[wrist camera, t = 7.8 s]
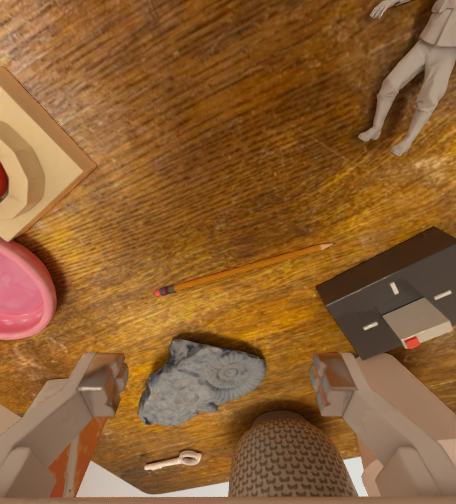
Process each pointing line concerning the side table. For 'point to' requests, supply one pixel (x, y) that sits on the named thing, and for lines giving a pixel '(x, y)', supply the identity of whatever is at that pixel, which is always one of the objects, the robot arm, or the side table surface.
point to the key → (177, 460)
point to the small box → (70, 448)
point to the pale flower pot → (405, 410)
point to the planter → (287, 460)
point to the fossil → (197, 382)
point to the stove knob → (417, 323)
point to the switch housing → (392, 289)
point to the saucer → (24, 292)
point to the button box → (33, 159)
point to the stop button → (3, 181)
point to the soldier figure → (419, 70)
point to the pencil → (242, 269)
